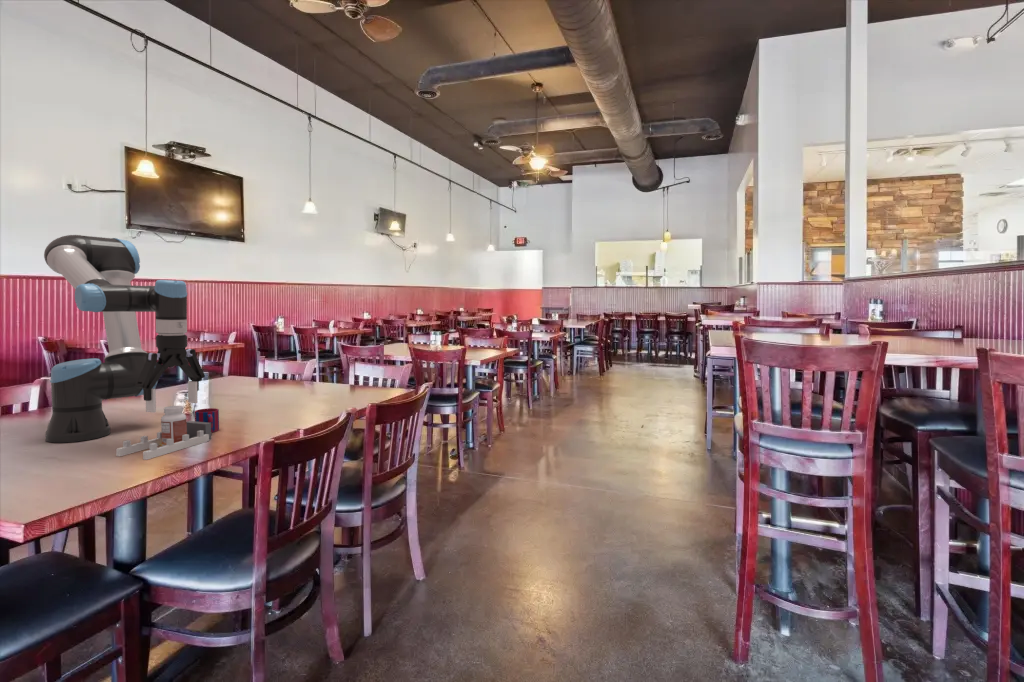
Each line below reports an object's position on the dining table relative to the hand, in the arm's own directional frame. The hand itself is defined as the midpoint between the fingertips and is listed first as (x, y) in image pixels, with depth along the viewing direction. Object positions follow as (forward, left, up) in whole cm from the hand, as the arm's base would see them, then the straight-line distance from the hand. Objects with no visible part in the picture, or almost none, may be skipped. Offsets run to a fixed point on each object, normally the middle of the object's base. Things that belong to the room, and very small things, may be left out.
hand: (172, 407), depth 150 cm
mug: (-4, +15, -11) cm, 19 cm away
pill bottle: (0, 0, -11) cm, 11 cm away
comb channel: (0, -3, -11) cm, 12 cm away
